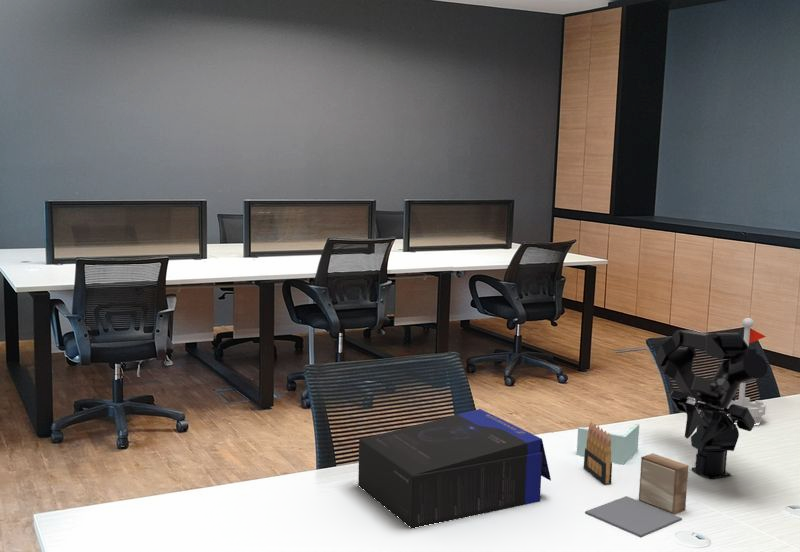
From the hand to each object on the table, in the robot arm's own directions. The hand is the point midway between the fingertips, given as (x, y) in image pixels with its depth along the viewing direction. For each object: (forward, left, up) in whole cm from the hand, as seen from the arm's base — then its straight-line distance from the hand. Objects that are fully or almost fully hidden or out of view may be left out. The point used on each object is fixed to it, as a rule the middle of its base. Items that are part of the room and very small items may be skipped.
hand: (693, 439), depth 191 cm
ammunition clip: (+13, -16, -13) cm, 25 cm away
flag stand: (-53, -38, -13) cm, 66 cm away
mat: (+20, +5, -13) cm, 24 cm away
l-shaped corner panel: (+1, -29, -13) cm, 32 cm away
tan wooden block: (+10, +3, -13) cm, 16 cm away
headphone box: (+50, -19, -13) cm, 55 cm away
